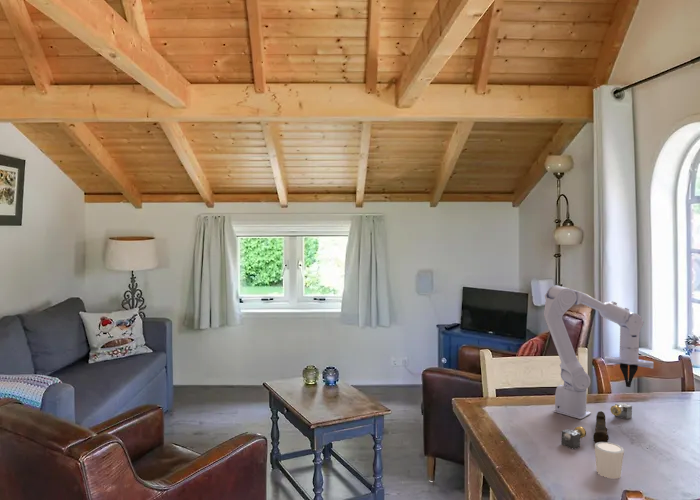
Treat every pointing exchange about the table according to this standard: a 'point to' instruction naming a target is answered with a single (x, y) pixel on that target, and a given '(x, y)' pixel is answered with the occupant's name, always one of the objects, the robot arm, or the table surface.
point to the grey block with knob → (622, 410)
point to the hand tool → (600, 429)
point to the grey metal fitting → (573, 437)
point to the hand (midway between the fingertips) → (628, 386)
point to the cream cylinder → (609, 459)
